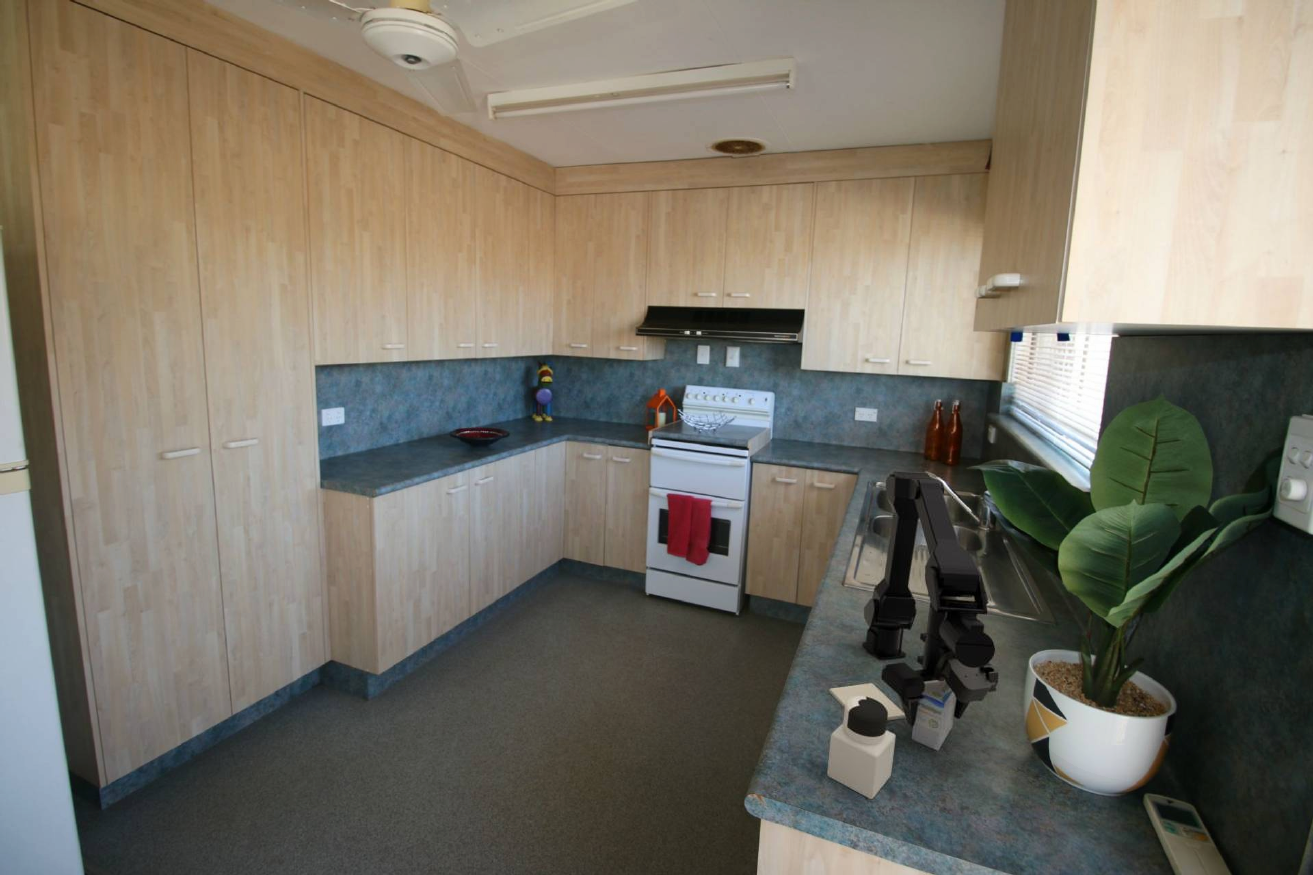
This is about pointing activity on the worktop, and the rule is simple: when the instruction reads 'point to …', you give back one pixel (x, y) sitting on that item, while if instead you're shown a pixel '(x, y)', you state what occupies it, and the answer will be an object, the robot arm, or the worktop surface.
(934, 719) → the medicine box
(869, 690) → the mat
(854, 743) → the medicine bottle
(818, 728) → the worktop surface
